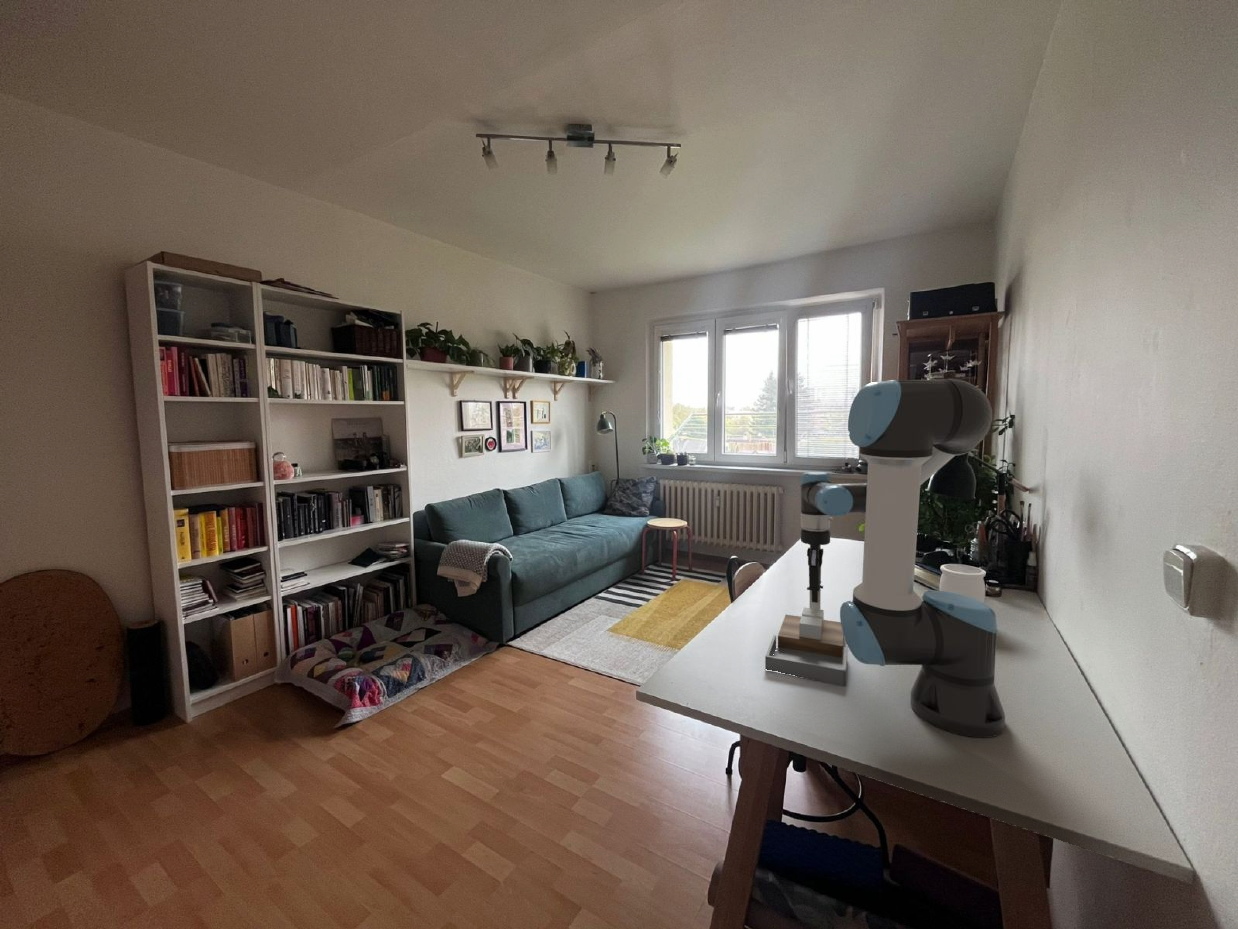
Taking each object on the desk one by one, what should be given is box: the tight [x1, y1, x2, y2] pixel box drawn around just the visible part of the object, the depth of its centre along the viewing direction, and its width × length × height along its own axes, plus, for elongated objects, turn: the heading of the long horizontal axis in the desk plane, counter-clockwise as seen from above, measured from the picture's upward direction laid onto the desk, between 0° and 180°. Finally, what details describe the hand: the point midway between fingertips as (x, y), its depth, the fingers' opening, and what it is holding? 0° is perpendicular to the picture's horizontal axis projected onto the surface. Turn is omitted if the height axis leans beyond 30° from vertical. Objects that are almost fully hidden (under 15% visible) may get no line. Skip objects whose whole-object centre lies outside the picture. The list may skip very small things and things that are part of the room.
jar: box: [939, 563, 987, 604], centre depth 138 cm, size 11×10×15 cm
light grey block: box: [799, 615, 822, 640], centre depth 124 cm, size 5×5×4 cm
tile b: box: [801, 607, 825, 629], centre depth 130 cm, size 5×5×4 cm
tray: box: [764, 634, 848, 687], centre depth 115 cm, size 12×17×4 cm
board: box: [777, 614, 845, 658], centre depth 128 cm, size 15×15×4 cm
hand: (815, 612), depth 135 cm, fingers closed
